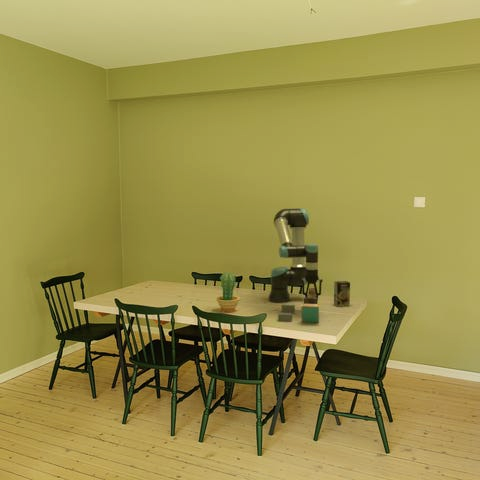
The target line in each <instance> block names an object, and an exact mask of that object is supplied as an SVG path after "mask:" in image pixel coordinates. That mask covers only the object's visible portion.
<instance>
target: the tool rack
mask: <svg viewBox="0 0 480 480" xmlns="http://www.w3.org/2000/svg"><path fill="white" fill-rule="evenodd" d="M295 307H296V305H294V304H282V305H281V312H278V314H277V321H278V322H292V321H293V314H295V312H296V308H295Z"/></svg>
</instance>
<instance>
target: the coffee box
mask: <svg viewBox="0 0 480 480" xmlns="http://www.w3.org/2000/svg"><path fill="white" fill-rule="evenodd" d="M333 283H334V286H333V305H334V306H335V307H337V308H340V307H341V308H342V307H350V304H351V303H350V302H351V300H350V299H351V282H350V281H347V280H342V281H341V280H340V281H339V280H338V281H336V280H335V281H334V282H333Z"/></svg>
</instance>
